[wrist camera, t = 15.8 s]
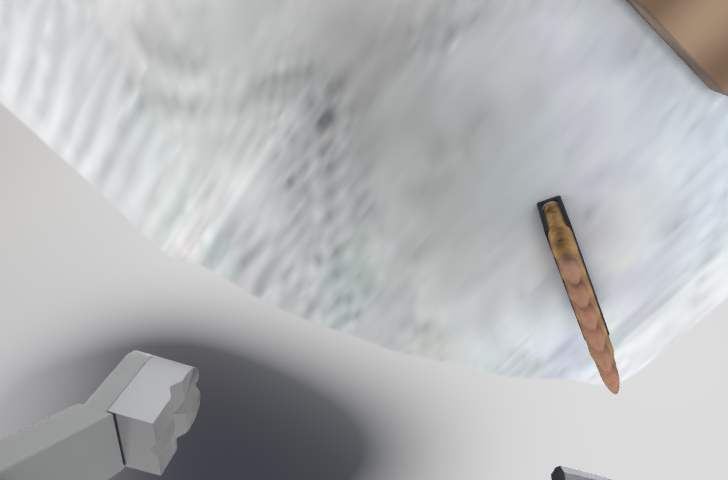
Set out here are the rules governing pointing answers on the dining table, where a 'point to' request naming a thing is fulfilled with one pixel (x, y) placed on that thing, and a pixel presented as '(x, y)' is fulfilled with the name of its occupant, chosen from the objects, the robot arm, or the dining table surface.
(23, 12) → the dining table surface
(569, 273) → the ammunition clip
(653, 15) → the notched board
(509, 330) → the dining table surface
